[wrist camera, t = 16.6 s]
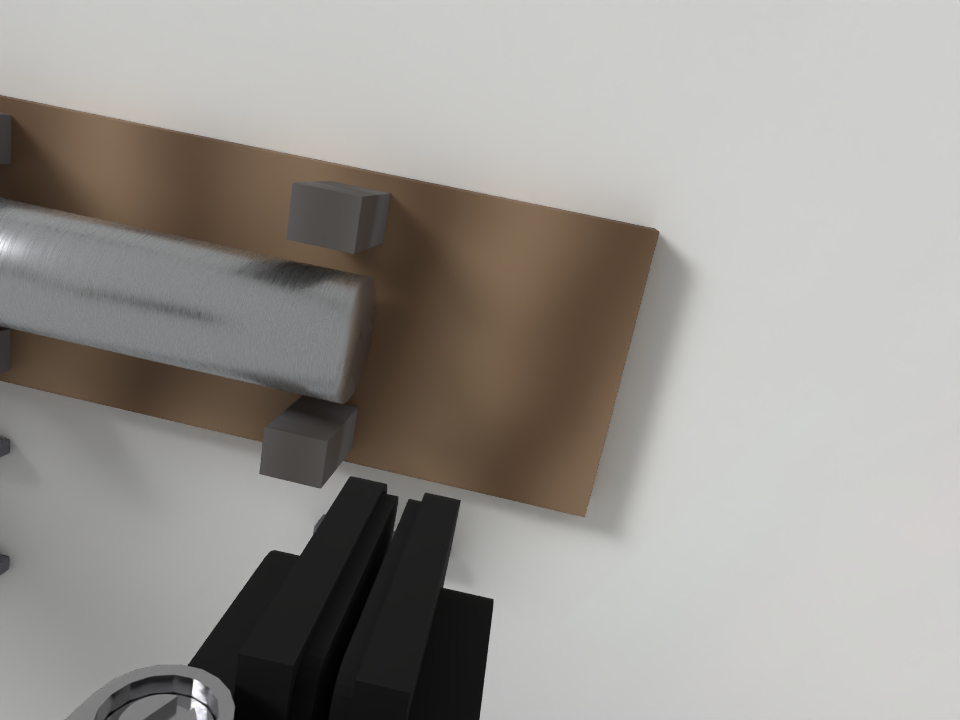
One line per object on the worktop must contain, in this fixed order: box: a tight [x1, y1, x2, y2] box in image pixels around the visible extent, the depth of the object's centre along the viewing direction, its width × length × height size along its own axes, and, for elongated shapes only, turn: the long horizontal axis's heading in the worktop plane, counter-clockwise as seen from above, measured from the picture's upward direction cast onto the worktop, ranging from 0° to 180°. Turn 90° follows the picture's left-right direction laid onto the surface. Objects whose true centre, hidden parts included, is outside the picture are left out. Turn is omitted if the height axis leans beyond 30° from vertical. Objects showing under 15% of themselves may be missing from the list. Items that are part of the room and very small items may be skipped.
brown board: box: [0, 95, 659, 517], centre depth 21 cm, size 32×10×9 cm, turn 79°
